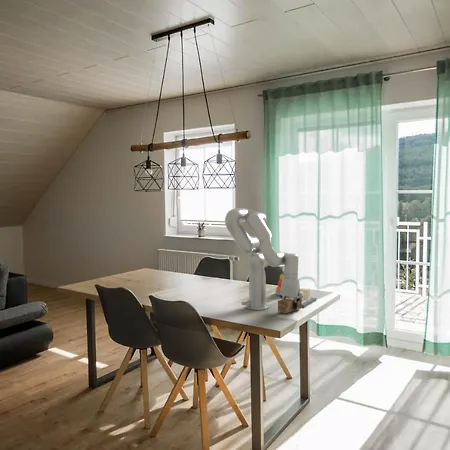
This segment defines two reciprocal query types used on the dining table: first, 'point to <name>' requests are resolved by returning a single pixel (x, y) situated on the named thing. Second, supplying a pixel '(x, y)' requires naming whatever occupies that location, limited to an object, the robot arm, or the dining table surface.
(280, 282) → the stacking toy
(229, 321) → the dining table surface
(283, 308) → the walnut beam
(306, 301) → the plate
